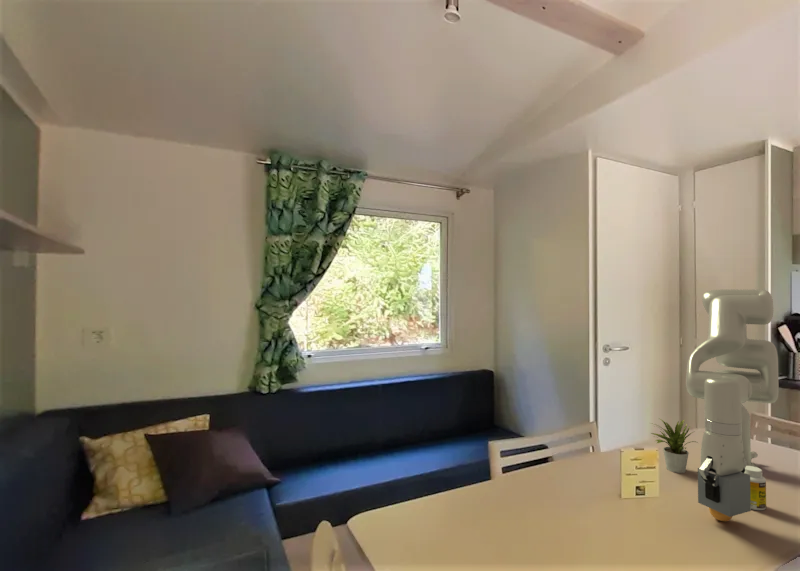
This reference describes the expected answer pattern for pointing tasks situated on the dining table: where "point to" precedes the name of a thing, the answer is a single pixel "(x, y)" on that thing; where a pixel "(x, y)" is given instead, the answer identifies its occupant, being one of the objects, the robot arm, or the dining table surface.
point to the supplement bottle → (756, 488)
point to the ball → (719, 515)
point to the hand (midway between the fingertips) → (723, 496)
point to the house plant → (675, 447)
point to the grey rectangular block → (728, 494)
